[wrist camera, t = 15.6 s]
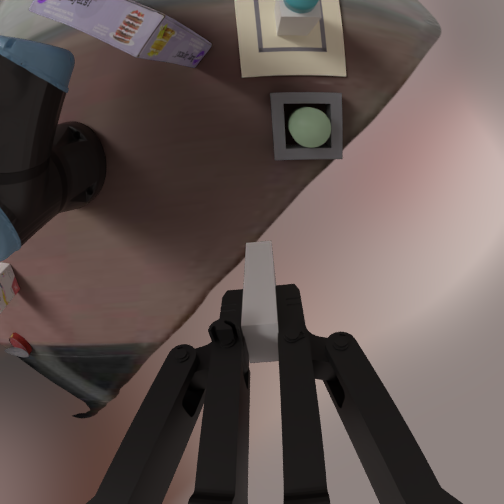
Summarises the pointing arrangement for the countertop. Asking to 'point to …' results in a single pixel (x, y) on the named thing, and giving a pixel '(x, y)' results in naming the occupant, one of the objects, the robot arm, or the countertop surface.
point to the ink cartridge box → (7, 285)
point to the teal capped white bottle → (296, 16)
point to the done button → (309, 126)
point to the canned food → (19, 346)
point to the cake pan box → (129, 28)
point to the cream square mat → (289, 42)
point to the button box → (298, 151)
